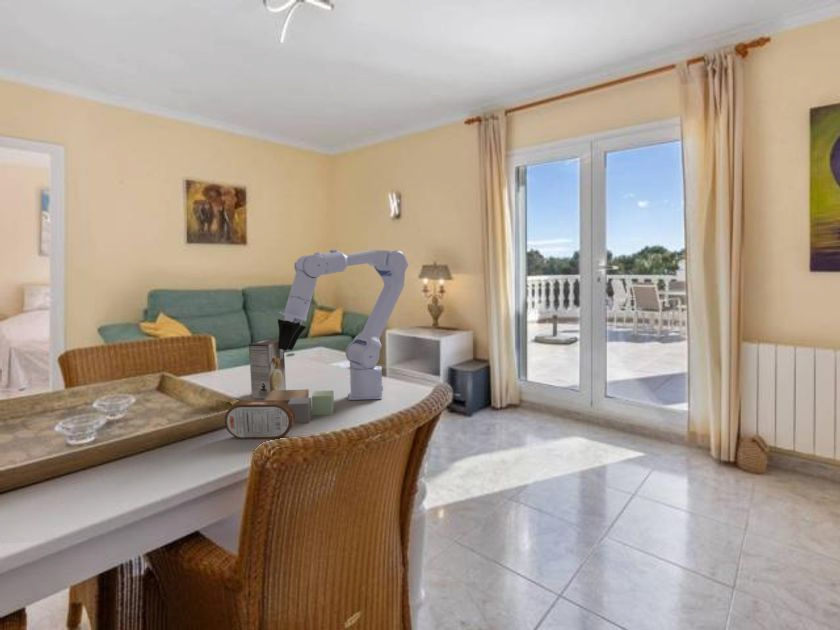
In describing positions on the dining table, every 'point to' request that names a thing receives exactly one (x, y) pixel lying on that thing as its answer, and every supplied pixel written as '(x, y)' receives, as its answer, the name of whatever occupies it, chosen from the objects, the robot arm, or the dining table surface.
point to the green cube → (322, 402)
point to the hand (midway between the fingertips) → (285, 349)
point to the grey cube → (301, 409)
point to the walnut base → (287, 395)
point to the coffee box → (266, 368)
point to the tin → (259, 419)
